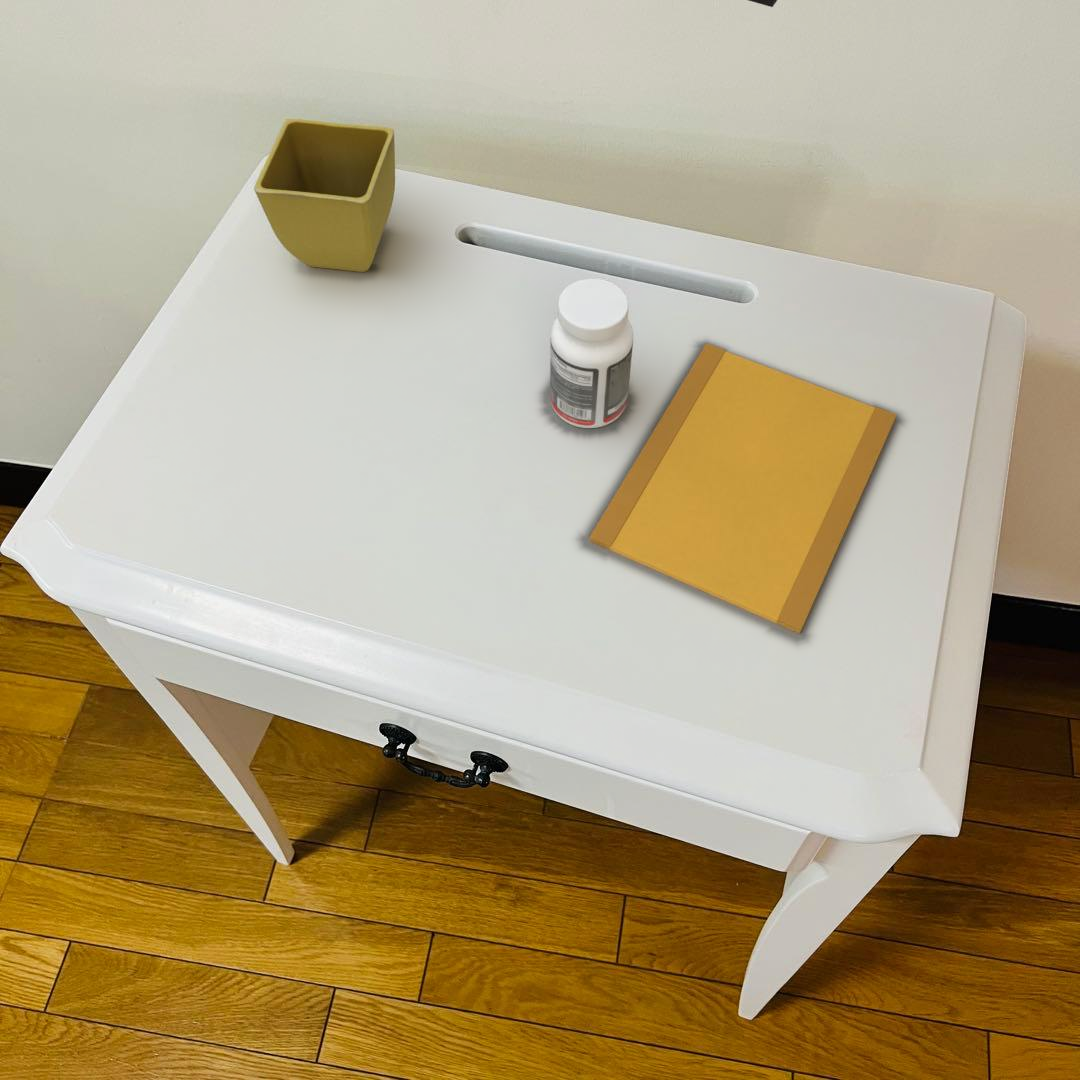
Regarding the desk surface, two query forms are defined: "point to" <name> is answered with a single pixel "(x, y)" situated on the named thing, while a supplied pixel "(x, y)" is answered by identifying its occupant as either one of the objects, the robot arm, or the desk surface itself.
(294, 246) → the flower pot
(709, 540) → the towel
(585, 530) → the desk surface
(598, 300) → the pill bottle
